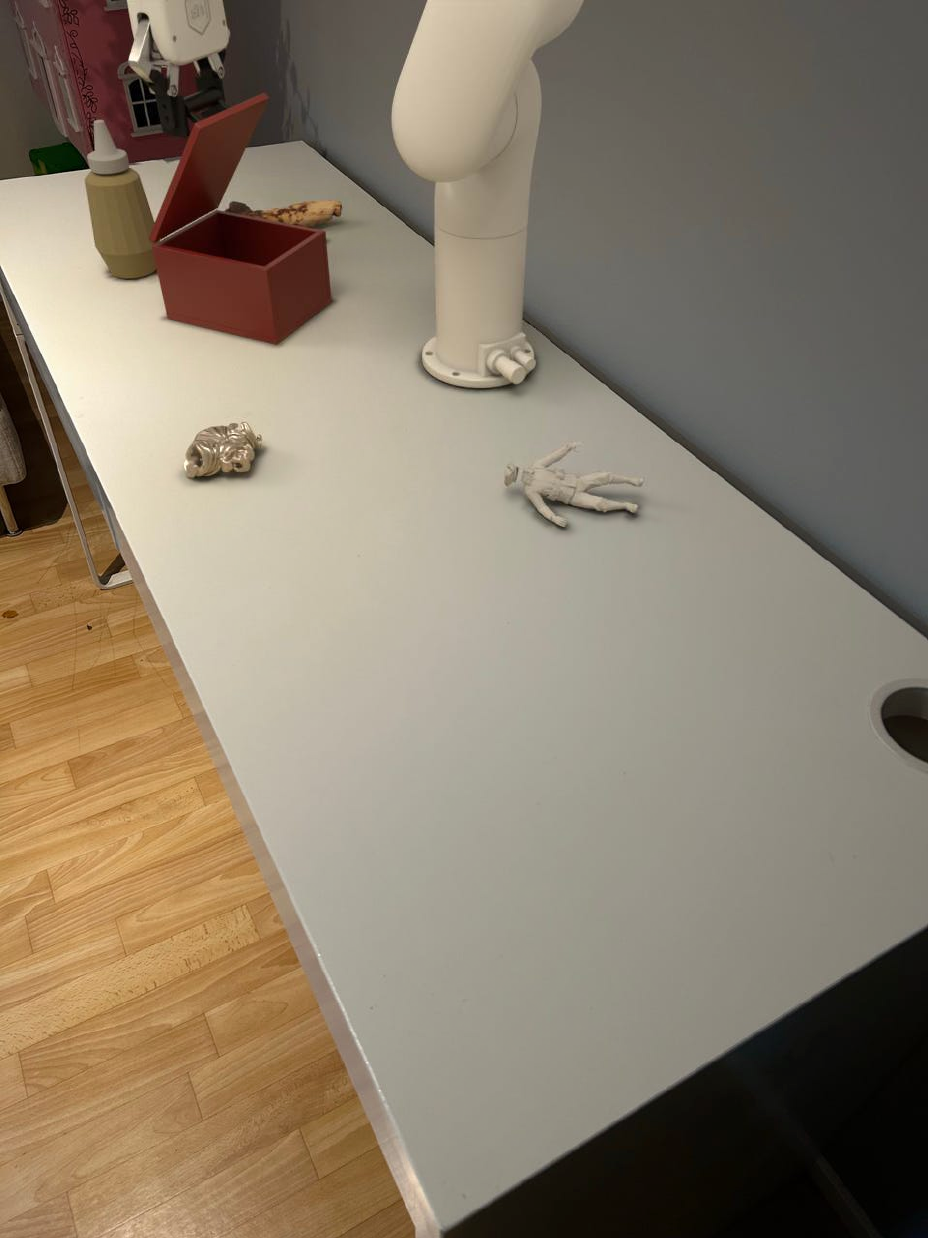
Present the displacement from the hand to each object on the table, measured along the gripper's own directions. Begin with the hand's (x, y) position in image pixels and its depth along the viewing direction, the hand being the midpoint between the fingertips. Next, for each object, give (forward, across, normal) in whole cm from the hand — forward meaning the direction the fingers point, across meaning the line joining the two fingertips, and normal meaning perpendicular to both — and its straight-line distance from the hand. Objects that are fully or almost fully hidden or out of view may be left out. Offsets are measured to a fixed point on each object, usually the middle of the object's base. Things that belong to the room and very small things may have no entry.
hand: (196, 124), depth 102 cm
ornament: (+21, -29, -20) cm, 41 cm away
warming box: (+20, 0, -3) cm, 21 cm away
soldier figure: (+21, -21, -53) cm, 61 cm away
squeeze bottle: (+20, +3, +17) cm, 27 cm away
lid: (+5, 0, -1) cm, 5 cm away
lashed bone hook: (+21, +22, +6) cm, 31 cm away
